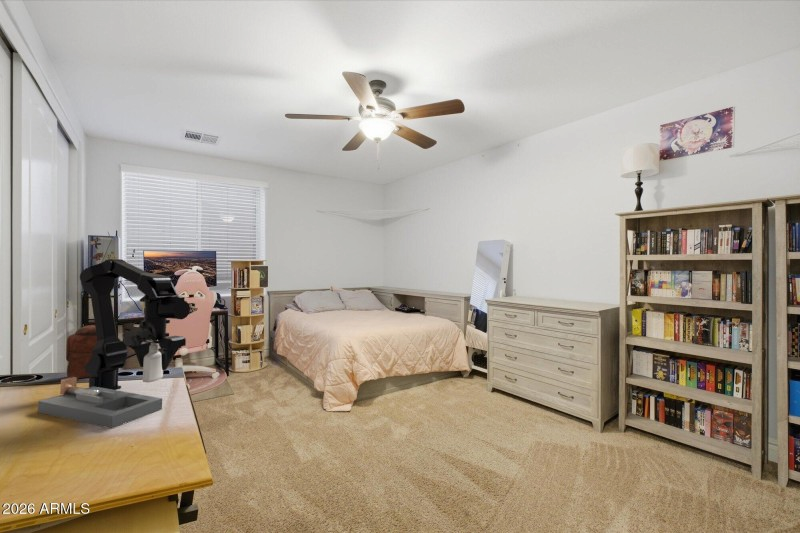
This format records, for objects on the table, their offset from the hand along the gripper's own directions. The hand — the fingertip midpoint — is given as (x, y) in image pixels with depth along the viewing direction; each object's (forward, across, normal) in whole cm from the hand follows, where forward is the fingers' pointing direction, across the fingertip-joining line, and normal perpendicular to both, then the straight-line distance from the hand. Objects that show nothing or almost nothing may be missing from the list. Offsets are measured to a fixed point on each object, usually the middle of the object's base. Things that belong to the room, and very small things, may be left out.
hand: (153, 368), depth 111 cm
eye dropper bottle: (+4, 0, 0) cm, 4 cm away
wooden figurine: (+9, -40, +8) cm, 42 cm away
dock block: (+9, -3, -12) cm, 15 cm away
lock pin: (+6, -12, -12) cm, 18 cm away
